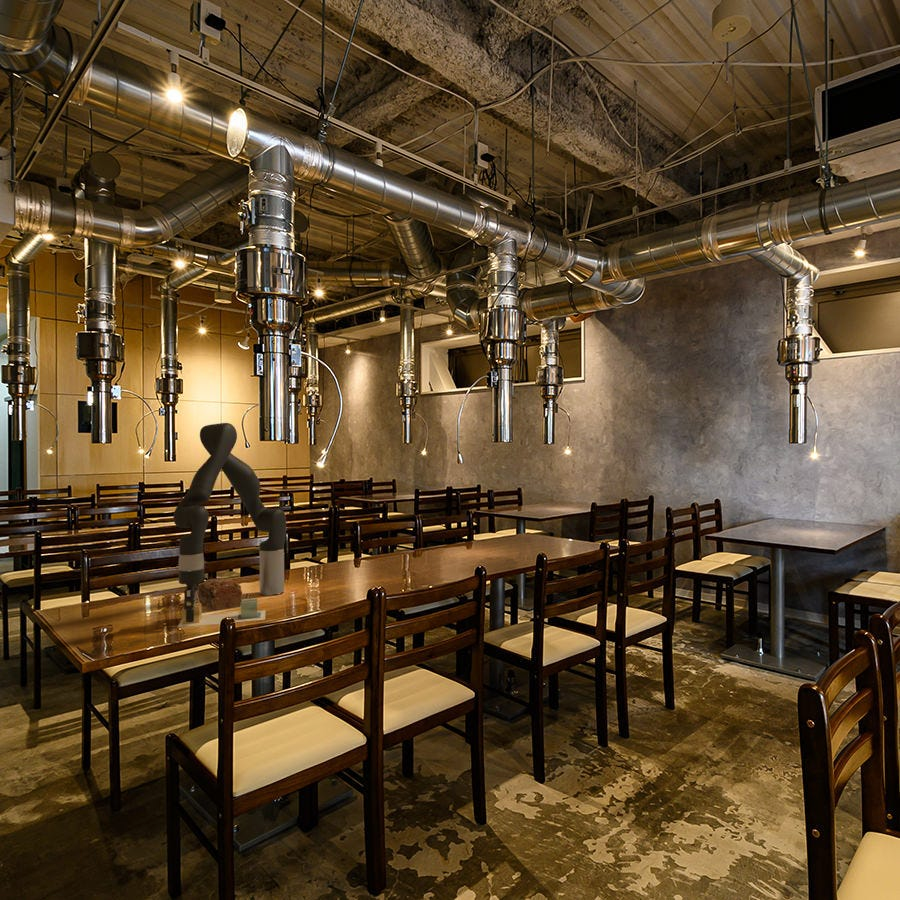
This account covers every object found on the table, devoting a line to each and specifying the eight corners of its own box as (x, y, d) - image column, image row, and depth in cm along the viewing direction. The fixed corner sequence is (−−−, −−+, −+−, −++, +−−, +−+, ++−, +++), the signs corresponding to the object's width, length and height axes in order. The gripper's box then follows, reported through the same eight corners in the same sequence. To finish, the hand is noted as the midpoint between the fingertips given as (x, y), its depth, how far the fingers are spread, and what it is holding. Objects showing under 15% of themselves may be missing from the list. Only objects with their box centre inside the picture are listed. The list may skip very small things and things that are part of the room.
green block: (241, 614, 193) (241, 599, 193) (257, 613, 194) (257, 598, 195) (240, 618, 188) (240, 603, 188) (257, 617, 190) (257, 601, 190)
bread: (242, 609, 204) (242, 581, 204) (211, 614, 197) (210, 585, 198) (227, 599, 219) (226, 573, 219) (197, 604, 212) (197, 577, 213)
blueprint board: (183, 619, 191) (183, 617, 191) (265, 612, 198) (265, 610, 198) (177, 629, 179) (177, 626, 179) (264, 621, 187) (264, 619, 187)
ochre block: (184, 619, 188) (184, 604, 188) (201, 618, 189) (201, 603, 189) (182, 624, 183) (182, 608, 183) (199, 622, 185) (199, 606, 185)
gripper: (182, 564, 192) (182, 614, 192) (175, 572, 179) (175, 625, 178) (206, 563, 194) (206, 612, 194) (201, 570, 181) (201, 623, 180)
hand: (191, 618), depth 186 cm, fingers open, 8 cm apart
